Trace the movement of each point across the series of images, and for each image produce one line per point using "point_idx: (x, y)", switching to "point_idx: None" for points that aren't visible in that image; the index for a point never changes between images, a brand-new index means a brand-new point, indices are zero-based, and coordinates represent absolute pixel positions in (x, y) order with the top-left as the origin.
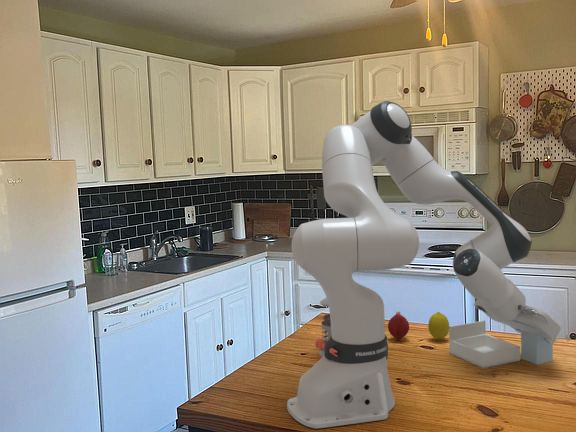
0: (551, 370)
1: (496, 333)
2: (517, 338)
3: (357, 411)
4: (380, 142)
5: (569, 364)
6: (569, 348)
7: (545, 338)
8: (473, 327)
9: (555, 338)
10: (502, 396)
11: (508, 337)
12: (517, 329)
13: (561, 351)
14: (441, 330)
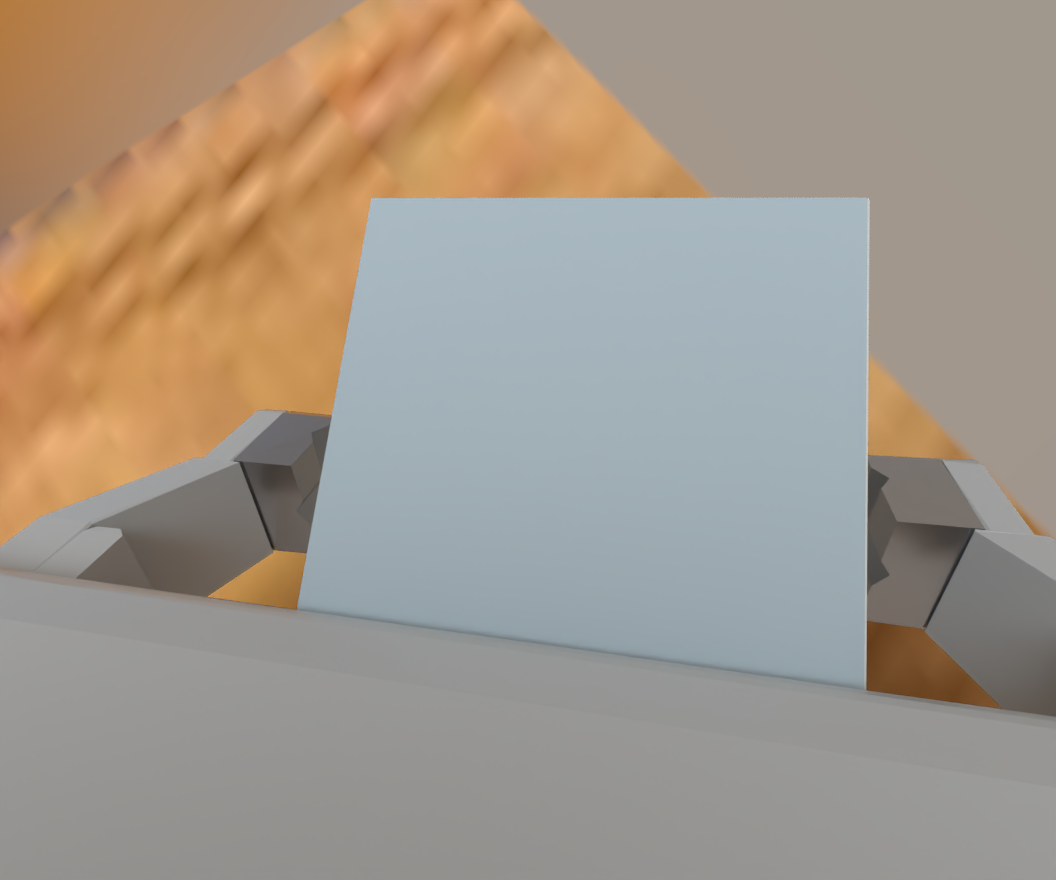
0: (911, 660)
1: (7, 269)
2: (176, 227)
3: None
4: None
5: (870, 381)
6: (574, 79)
7: (888, 605)
8: None
9: (978, 467)
10: None
11: (118, 265)
12: (286, 543)
13: (586, 181)
14: None
